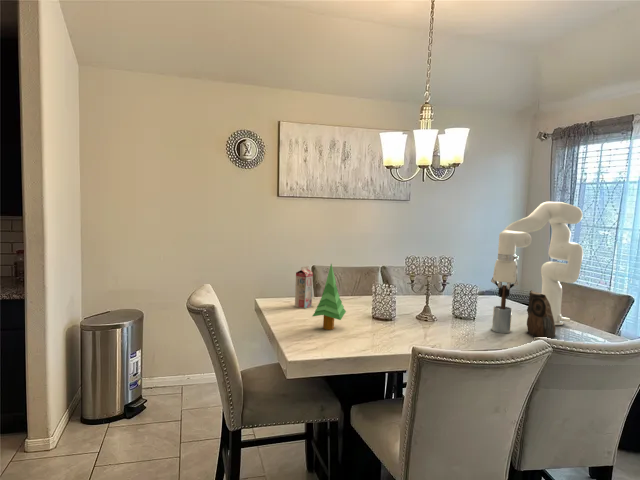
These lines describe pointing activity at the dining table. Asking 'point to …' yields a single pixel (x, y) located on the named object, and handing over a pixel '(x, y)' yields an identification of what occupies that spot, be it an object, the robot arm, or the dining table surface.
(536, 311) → the owl
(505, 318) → the grey cup
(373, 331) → the dining table surface
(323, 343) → the dining table surface
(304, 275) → the juice carton
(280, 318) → the dining table surface
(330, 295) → the decorative tree
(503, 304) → the orange and brown rod
